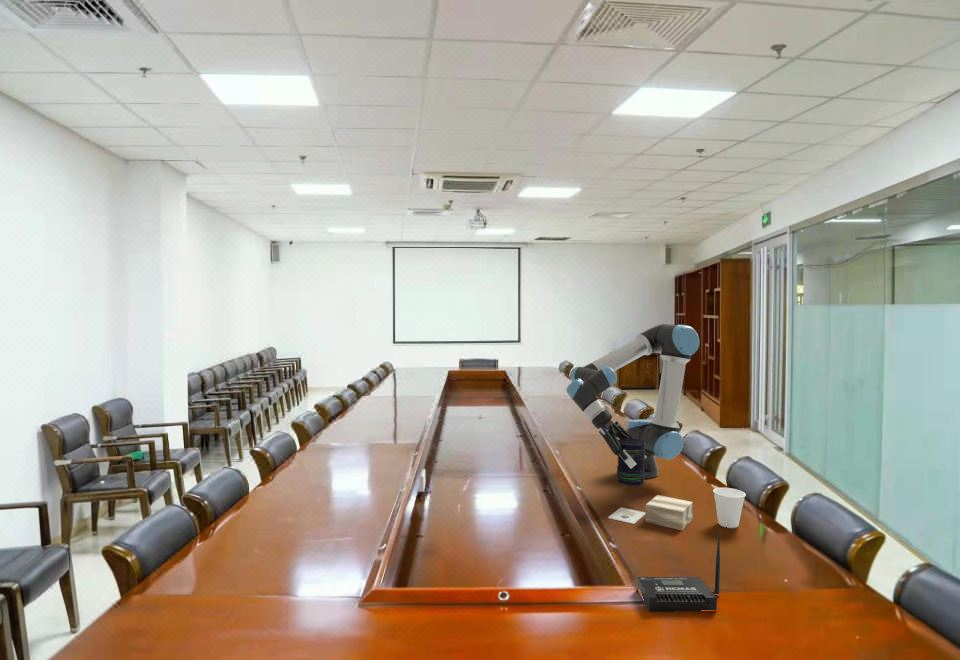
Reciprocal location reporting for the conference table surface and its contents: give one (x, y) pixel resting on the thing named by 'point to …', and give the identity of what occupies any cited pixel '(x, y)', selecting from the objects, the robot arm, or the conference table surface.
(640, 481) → the storage jar
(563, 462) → the conference table surface
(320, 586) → the conference table surface
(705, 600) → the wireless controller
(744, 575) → the conference table surface
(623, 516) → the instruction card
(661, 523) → the base block
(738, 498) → the cup
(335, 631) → the conference table surface
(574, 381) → the robot arm
